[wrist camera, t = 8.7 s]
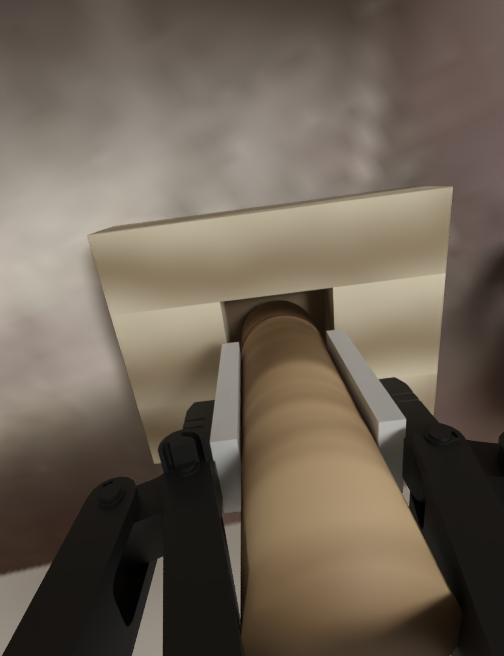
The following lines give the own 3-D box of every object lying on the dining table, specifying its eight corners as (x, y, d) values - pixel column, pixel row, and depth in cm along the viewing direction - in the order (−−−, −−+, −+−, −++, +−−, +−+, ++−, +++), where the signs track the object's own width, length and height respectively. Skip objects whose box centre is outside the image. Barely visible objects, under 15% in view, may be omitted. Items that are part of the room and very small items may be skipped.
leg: (235, 304, 19) (221, 578, 6) (313, 294, 19) (478, 550, 6) (245, 372, 20) (252, 711, 7) (317, 363, 20) (455, 690, 7)
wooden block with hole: (113, 226, 19) (86, 235, 16) (415, 186, 18) (452, 186, 15) (166, 425, 24) (154, 463, 20) (405, 397, 23) (432, 431, 20)
